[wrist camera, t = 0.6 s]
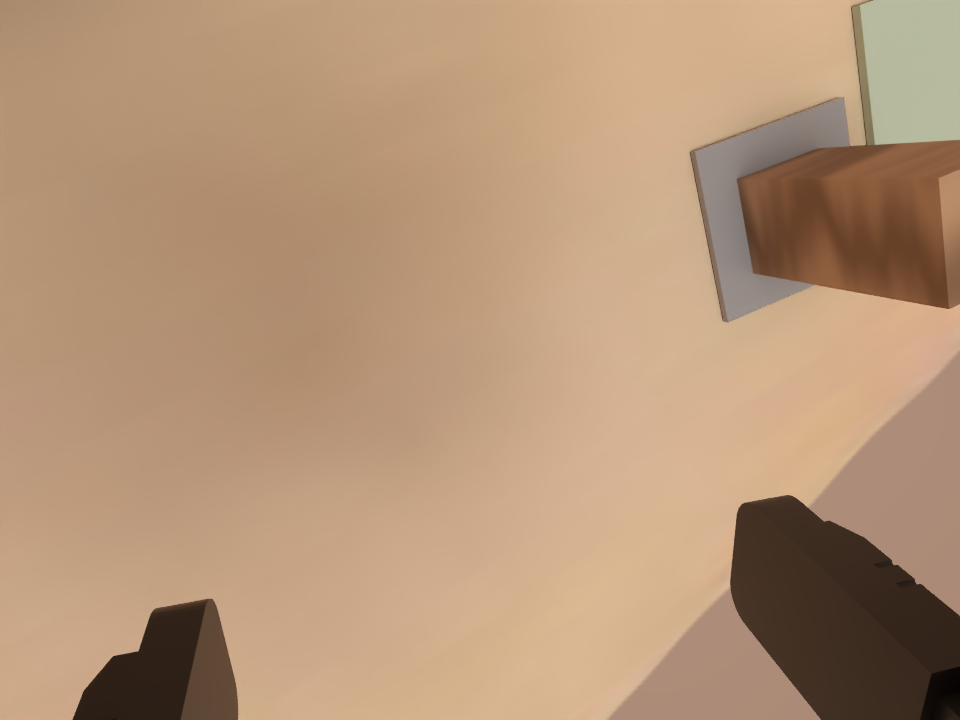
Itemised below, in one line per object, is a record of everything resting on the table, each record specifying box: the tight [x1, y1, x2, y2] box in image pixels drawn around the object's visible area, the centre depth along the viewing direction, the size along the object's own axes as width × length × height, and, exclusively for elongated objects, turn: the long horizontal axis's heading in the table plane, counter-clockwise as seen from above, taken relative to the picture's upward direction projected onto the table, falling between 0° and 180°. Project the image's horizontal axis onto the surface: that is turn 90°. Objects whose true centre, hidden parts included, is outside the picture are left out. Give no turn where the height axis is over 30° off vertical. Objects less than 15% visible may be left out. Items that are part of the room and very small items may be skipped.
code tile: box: [690, 97, 850, 322], centre depth 36 cm, size 9×9×1 cm
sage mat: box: [852, 0, 960, 145], centre depth 37 cm, size 9×9×1 cm
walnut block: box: [737, 140, 960, 309], centre depth 31 cm, size 5×5×11 cm
